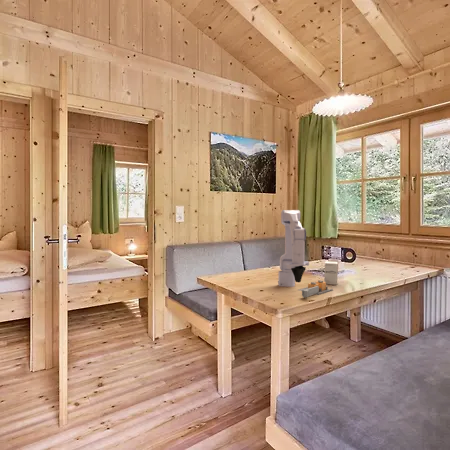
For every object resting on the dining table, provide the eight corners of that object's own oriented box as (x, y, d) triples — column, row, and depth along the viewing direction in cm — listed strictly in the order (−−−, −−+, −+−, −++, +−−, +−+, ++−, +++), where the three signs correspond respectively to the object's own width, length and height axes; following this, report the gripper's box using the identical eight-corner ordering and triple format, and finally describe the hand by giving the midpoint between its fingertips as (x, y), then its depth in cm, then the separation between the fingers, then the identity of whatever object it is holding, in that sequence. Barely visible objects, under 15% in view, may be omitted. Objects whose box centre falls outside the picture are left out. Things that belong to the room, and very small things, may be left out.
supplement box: (323, 284, 184) (324, 262, 183) (324, 281, 191) (325, 260, 190) (337, 285, 181) (337, 263, 180) (337, 282, 188) (337, 261, 187)
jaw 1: (314, 292, 162) (314, 284, 161) (307, 291, 165) (308, 282, 164) (318, 291, 164) (319, 282, 164) (312, 290, 167) (312, 281, 167)
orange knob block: (321, 290, 166) (321, 282, 165) (315, 289, 169) (315, 280, 169) (325, 289, 168) (325, 281, 168) (319, 288, 171) (319, 279, 171)
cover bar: (307, 298, 151) (307, 291, 150) (301, 297, 153) (302, 290, 153) (321, 293, 159) (322, 287, 158) (316, 292, 161) (316, 285, 161)
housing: (318, 296, 158) (318, 292, 158) (297, 291, 168) (297, 287, 168) (333, 291, 167) (333, 287, 167) (312, 287, 177) (312, 283, 177)
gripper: (295, 256, 141) (295, 285, 142) (314, 253, 150) (314, 281, 151) (283, 254, 146) (283, 283, 147) (302, 251, 156) (301, 278, 156)
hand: (298, 281), depth 149 cm, fingers closed
